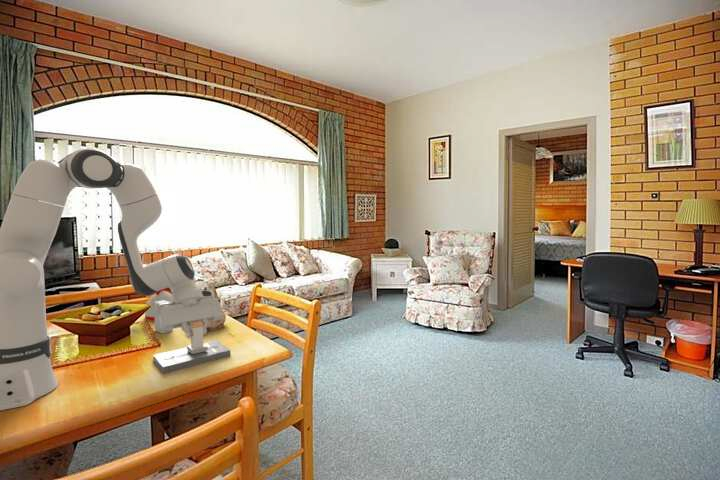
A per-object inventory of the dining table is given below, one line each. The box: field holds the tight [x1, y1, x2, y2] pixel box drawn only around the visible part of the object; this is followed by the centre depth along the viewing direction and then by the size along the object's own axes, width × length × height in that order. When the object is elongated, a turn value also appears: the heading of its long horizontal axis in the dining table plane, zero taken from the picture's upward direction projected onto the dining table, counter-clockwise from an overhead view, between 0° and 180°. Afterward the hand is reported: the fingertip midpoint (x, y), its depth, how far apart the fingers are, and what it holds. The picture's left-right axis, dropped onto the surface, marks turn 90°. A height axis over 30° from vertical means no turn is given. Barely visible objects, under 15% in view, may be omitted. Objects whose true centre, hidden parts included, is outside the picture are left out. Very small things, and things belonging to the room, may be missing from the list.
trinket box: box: [187, 311, 227, 333], centre depth 154 cm, size 13×15×8 cm
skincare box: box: [154, 300, 174, 334], centre depth 150 cm, size 6×4×12 cm
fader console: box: [152, 339, 231, 374], centre depth 125 cm, size 21×12×2 cm, turn 132°
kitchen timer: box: [144, 287, 173, 322], centre depth 169 cm, size 14×14×15 cm
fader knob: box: [186, 321, 208, 354], centre depth 125 cm, size 5×5×10 cm
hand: (197, 334), depth 124 cm, fingers closed on fader knob, 3 cm apart
